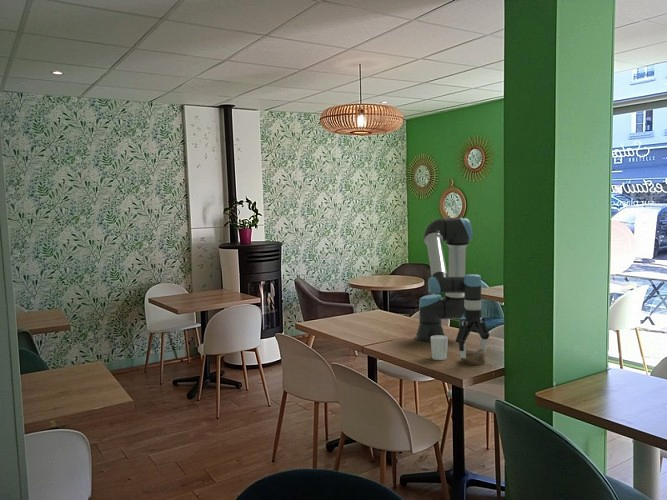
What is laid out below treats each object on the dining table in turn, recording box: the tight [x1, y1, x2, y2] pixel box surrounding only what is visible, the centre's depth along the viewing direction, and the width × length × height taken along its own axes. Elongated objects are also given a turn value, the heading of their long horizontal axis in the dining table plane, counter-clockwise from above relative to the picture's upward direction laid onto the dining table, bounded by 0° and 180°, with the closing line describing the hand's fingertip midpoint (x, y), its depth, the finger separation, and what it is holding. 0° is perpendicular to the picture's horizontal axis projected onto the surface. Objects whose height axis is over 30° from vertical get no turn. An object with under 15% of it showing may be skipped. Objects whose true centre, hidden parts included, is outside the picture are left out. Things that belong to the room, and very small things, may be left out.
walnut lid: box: [460, 348, 486, 366], centre depth 251 cm, size 10×10×5 cm
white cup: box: [430, 335, 449, 361], centre depth 258 cm, size 8×8×10 cm
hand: (473, 355), depth 250 cm, fingers open, 13 cm apart
